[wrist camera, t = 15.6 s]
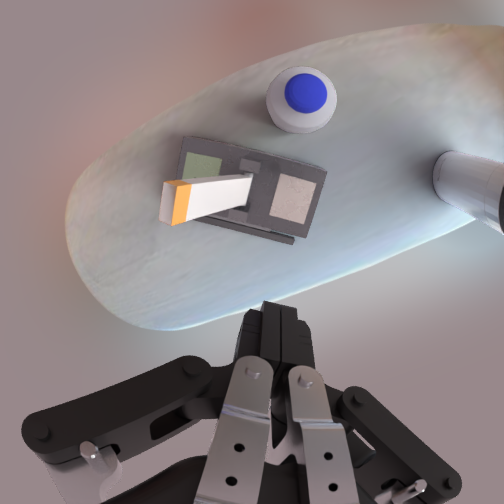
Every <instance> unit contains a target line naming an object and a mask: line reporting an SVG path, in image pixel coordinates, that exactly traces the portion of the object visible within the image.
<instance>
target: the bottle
mask: <svg viewBox="0 0 504 504" xmlns="http://www.w3.org/2000/svg"><path fill="white" fill-rule="evenodd" d="M336 104H337V94H336V91H335V88H334V86H333V84H332V82H331V81H330V79H329V78H328V77H327V76H326V75H324V74H323V73H322V72H320V71H318V70H316V69H314V68H311V67H305V66H297V67H291V68H288V69H286V70H284V71H283V72H281V73H280V74H279V75H278V76H277V77H276V78H275V79H274V80H273V81H272V82H271V84H270V85H269V87H268V90H267V94H266V106H267V109H268V112H269V114H270V116H271V118H272V120H273V122H274V123H275V125H276V126H277V127H278V128H280V129H282V130H283V131H286V132H289V133H310V132H314V131H316V130H318V129H320V128H322V127H323V126H324V125H326V124H327V122H328V121H329V120H330V118H331V117H332V115H333V113H334V111H335V108H336Z"/></svg>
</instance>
